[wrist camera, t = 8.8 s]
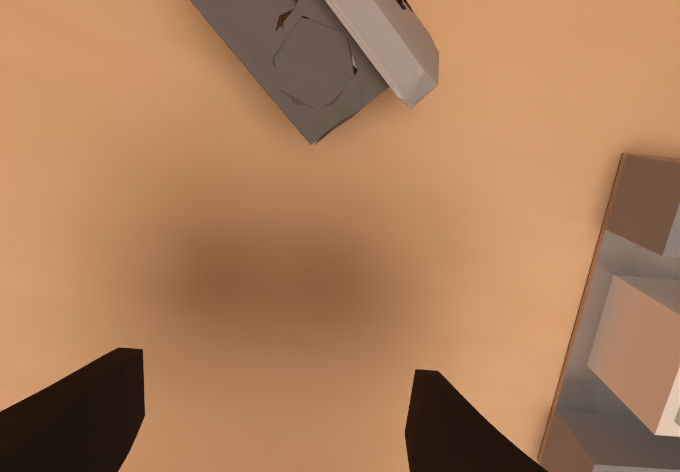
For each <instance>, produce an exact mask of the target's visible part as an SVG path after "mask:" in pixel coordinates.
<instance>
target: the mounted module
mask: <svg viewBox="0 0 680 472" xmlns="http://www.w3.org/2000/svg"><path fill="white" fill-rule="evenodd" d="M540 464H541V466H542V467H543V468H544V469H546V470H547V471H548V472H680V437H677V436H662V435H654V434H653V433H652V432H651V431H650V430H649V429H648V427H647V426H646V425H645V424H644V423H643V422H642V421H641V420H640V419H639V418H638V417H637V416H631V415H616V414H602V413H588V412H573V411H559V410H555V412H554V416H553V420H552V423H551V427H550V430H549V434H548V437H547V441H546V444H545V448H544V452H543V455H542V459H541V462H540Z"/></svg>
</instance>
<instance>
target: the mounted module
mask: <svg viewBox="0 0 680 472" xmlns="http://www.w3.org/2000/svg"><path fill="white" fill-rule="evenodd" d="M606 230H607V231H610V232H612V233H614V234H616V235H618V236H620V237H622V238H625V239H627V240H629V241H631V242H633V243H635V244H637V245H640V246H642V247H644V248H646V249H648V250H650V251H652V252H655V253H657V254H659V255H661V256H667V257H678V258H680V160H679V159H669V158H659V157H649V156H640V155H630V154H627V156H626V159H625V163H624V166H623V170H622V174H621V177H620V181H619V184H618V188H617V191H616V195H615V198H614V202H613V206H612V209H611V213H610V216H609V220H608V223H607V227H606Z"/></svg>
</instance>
